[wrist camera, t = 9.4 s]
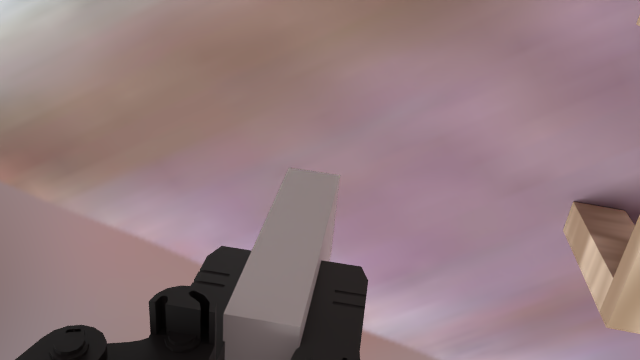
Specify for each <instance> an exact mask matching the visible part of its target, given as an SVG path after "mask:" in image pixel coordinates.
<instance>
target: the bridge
mask: <svg viewBox="0 0 640 360" xmlns="http://www.w3.org/2000/svg"><path fill="white" fill-rule="evenodd" d="M637 25H638V26H640V15H639V18H638V21H637ZM563 231H564V233H565V236H566V238H567V240H568V242H569V245H570V247H571V249H572V251H573V254H574V256H575V258H576V260H577V263H578V265H579V267H580V269H581V272H582V274H583V276H584V278H585V281H586V283H587V285H588V287H589V290H590V292H591V294H592V296H593V299H594V301H595V303H596V305H597V308H598V310H599V312H600V314H601V317H602V319H603V321H604V323H605V326H606V328H611V329H617V330H622V331H627V332H632V333H638V334H640V215H639V218H638V220H637V222H636V225H634V224H633V222H632V221H631V219H630V218H629V216H628V215H627V213H626V212H625V211H624V210H618V209H612V208H607V207H601V206H595V205H589V204H584V203H578V202H573V204H572V207H571V210H570V212H569V215H568V218H567V221H566V224H565V226H564V229H563Z"/></svg>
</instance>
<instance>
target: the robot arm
mask: <svg viewBox="0 0 640 360" xmlns="http://www.w3.org/2000/svg"><path fill="white" fill-rule="evenodd" d="M339 181H340V175H336V174H329V173H322V172H315V171H308V170H301V169H295V168H289V169H288V171H287V173H286V175H285V178H284V180H283V182H282V184H281V187H280V189H279V191H278V193H277V195H276V198H275V200H274V202H273V204H272V207H271V209H270V211H269V213H268V216H267V218H266V220H265V222H264V224H263V227H262V229H261V231H260V233H259V236H258V238H257V240H256V242H255V245H254V247H253V249H252V251H250V250H244V249H238V248H231V247H225V246H221V247H220V248H218V249H217V250H215V251H214V252H213V253H211V254H210V255H208V256H207V258H206V260H205V261H204V263H203V265H202V267H201V269H200V272H198V274H197V276H196V278H195V279H194V283H192V285H191V286H177V287H172V288H167V289H165V290H163V291H161V292H159V293H158V294H156V295H155V296H154V297H153V298H152V299H151V300H150V301H149V311H150V329H151V330H150V331H151V334H150V336H149V338H146V339H144V340H140V341H133V342H124V343H110V344H107V341H106V339H105V337H104V335H103V333H102V332H100V331H99V330H97V329H96V328H94V327H89V326H84V325H75V326H66V327H63V328H60V329H57V330H54V331H52V332H51V333H49V334H47V335H46V336H44V337H43V338H41V339H40V340H39V341H38V342H37V343H35V344H34V345H33V346H32V347H30V348H29V349H28V350H27V351H25V352H24V353H23V354H22V355H20V356H19V357H18V358H17V359H15V360H360V353H359V351H360V343H361V335H362V326H363V318H364V310H365V302H366V293H367V285H368V280H367V277H366V275H365V273H364V271H363V269H362V267H360V266H353V265H347V264H341V263H334V262H329V260H330V256H331V249H332V241H333V232H334V224H335V215H336V207H337V198H338V190H339Z"/></svg>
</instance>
